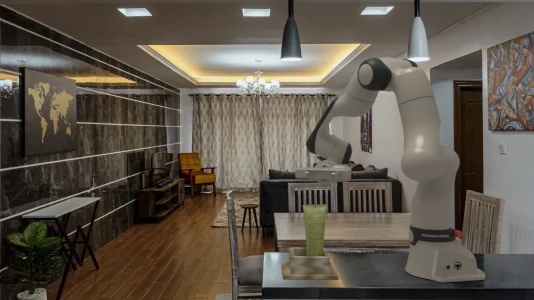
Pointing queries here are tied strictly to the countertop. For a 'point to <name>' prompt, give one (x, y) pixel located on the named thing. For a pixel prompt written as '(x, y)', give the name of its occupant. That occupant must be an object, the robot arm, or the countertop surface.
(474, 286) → the countertop surface
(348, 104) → the robot arm
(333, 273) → the socket stand
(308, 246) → the tube
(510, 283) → the countertop surface
